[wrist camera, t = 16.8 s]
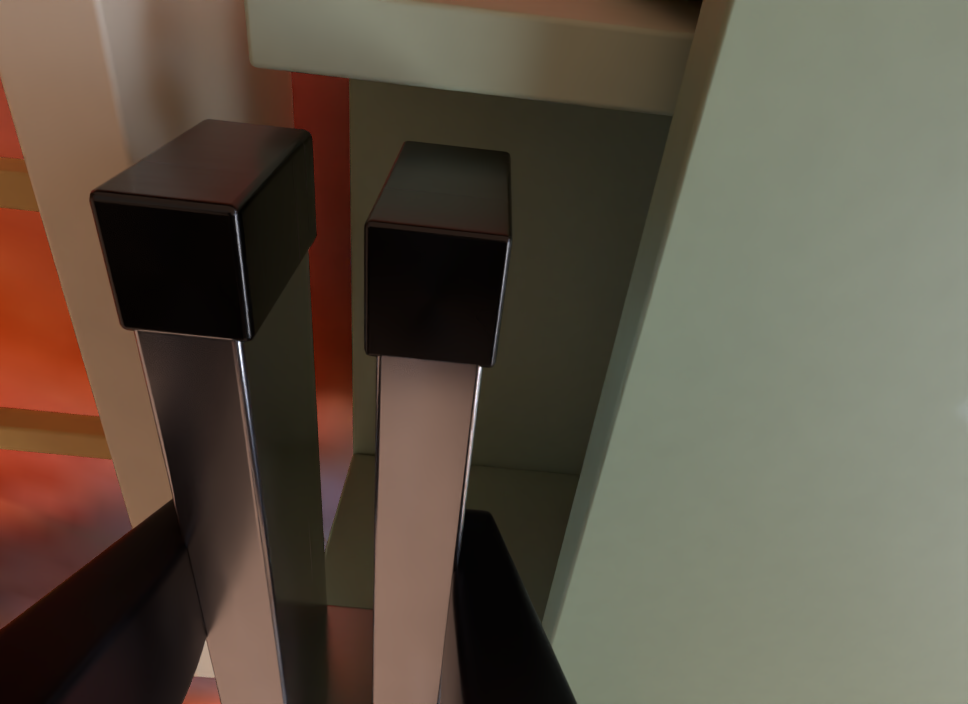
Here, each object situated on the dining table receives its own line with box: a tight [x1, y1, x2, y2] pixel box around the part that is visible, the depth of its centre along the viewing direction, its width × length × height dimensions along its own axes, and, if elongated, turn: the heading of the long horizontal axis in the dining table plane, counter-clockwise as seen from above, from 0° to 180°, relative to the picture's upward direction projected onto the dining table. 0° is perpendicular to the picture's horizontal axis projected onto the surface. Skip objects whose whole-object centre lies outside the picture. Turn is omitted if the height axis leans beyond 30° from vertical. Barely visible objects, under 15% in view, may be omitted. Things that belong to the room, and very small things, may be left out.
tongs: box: [89, 119, 513, 704], centre depth 8 cm, size 9×3×2 cm, turn 174°
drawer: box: [0, 0, 703, 678], centre depth 12 cm, size 19×13×6 cm
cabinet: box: [542, 0, 968, 704], centre depth 12 cm, size 15×14×8 cm
